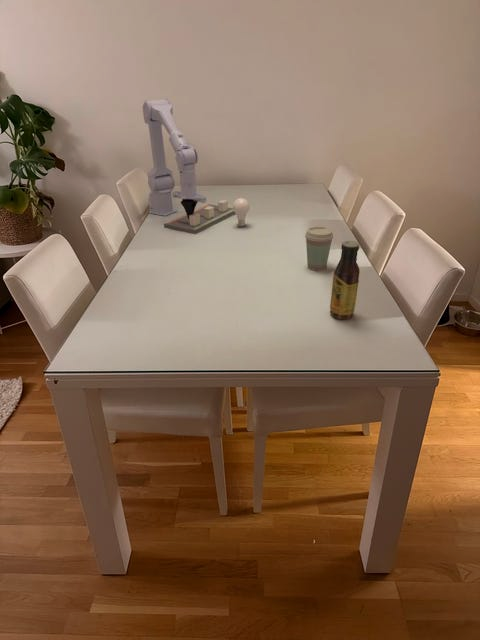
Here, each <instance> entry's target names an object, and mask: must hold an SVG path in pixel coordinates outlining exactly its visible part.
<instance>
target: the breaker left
mask: <svg viewBox="0 0 480 640" xmlns="http://www.w3.org/2000/svg"><path fill="white" fill-rule="evenodd" d="M217 206H218V211H220V212H224V211H227V210H228V208H229V202H228V200H225V199H222V200H220V201H218V202H217Z"/></svg>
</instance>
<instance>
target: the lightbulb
mask: <svg viewBox="0 0 480 640" xmlns="http://www.w3.org/2000/svg"><path fill="white" fill-rule="evenodd" d="M232 208H233V210H234V212H235V213H236V214H235V215H236V218H237V225H238V226H239V227H241V228H242V227H244V226H245V225H246V216H247V214H248V212H249V211H250V203H249V201H248V200H247V199H246V198H243V197H239V198H237V199H235V200H234V202H233V204H232Z"/></svg>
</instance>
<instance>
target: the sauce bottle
mask: <svg viewBox="0 0 480 640" xmlns="http://www.w3.org/2000/svg"><path fill="white" fill-rule="evenodd" d="M359 249H360V243H358V242H357V241H355V240H344V241H343V242H342V243H341V255H340V259H339V261H338V263H337V265H336V268H335V269H334V271H333V278H332V279H333V280H332V283H331V284H332V286H331V296H330V306H329V311H330V312H329V314H330V315H331V317H333V318H335V319H336V320H349V319H352V317H353V316H354V312H355V308H356V303H357V295H358V287H359V282H360V281H359V278H360V273H361V271H360V267H359V264H358V263H357V260H358V258H357V257H358V252H359Z"/></svg>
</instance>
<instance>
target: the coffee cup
mask: <svg viewBox="0 0 480 640" xmlns="http://www.w3.org/2000/svg"><path fill="white" fill-rule="evenodd" d="M304 237H305V241H306V257H307V258H306V263H307V268H308V269H309V270H312V271H319V272H320V271H323V270H326V269H327V265H328V260H329V256H330V255H329V254H330V252H331V245H332V242H333V241H332V240H333V239H334V233H333V230H332V229H331V228H329V227H326V226H312V227H309V228H307V230H306V232H305V234H304Z"/></svg>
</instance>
